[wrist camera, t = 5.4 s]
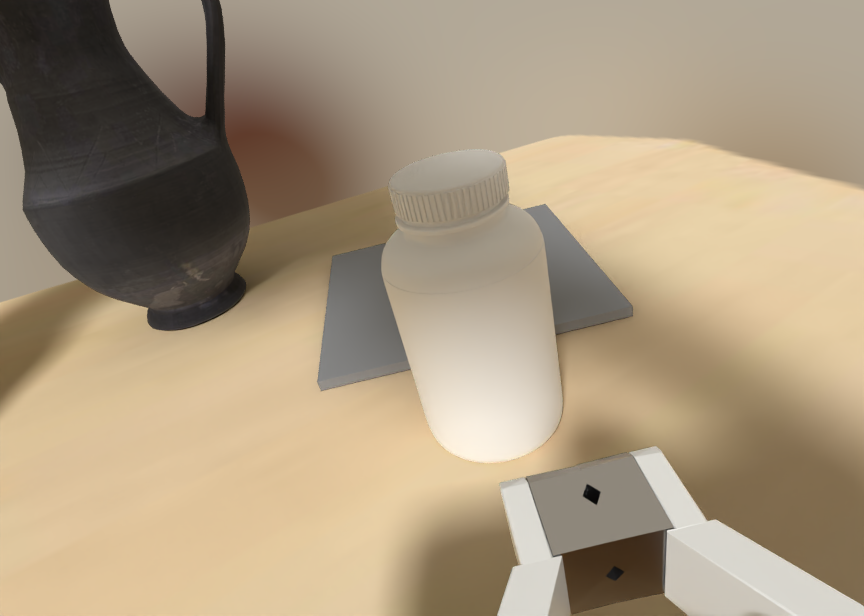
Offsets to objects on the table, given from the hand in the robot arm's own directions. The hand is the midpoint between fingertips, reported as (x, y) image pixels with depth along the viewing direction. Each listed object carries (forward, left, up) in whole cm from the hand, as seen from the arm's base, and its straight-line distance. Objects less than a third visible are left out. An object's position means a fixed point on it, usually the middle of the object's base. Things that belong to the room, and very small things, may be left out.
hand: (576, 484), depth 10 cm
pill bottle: (0, +16, -14) cm, 21 cm away
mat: (0, +32, -14) cm, 35 cm away
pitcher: (-23, +41, -14) cm, 49 cm away
